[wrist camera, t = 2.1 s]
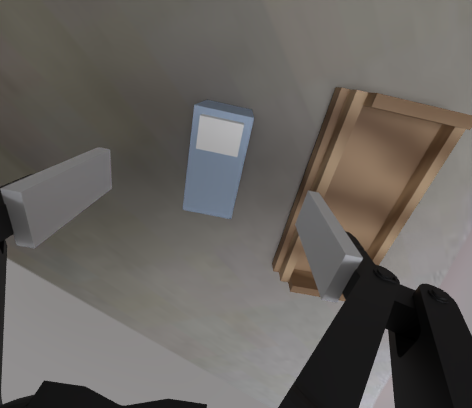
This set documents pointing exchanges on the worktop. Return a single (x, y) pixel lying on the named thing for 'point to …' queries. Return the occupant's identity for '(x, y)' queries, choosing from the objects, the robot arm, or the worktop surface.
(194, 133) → the blue block with label
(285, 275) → the wooden tray
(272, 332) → the worktop surface
